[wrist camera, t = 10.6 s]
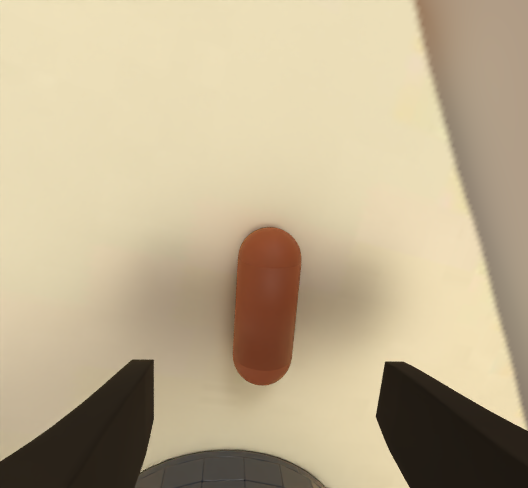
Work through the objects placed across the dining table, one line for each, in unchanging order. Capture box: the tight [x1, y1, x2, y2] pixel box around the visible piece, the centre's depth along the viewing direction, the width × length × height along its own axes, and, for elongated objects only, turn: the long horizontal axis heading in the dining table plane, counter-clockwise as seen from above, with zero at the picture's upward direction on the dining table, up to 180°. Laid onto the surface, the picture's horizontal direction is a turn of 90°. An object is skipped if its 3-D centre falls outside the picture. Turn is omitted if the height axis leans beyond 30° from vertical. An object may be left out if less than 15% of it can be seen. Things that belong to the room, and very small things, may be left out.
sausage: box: [233, 227, 301, 385], centre depth 16 cm, size 8×3×3 cm, turn 176°
